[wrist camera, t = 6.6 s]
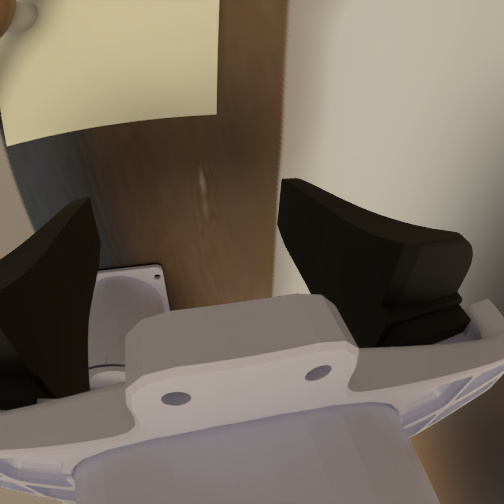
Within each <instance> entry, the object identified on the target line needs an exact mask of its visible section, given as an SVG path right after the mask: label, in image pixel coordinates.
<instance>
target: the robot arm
mask: <svg viewBox="0 0 504 504" xmlns="http://www.w3.org/2000/svg"><path fill="white" fill-rule="evenodd" d="M277 225H278V228H279V231H280V233H281V237H282V239H283V242H284V244H285V246H286V248H287V250H288V252H289V254H290V256H291V257H292V259H293V261H294V263H295V265H296V267H297V268H298V270H299V272H300V274H301V276H302V278H303V280H304V281H305V283H306V285H307V287H308V289H309V291H310V293H311V294H290V295H284V296H277V297H271V298H264V299H257V300H250V301H243V302H236V303H229V304H221V305H214V306H206V307H198V308H190V309H182V310H174V311H170V307H169V302H168V297H167V291H166V286H165V280H164V274H163V269H162V267H161V266H160V265H156V264H155V265H146V266H138V267H129V268H120V269H111V270H102V271H98V268H99V261H100V248H101V242H100V238H99V234H98V231H97V226H96V222H95V218H94V214H93V210H92V205H91V201H90V198H83V199H77V200H74V201H72V202H71V203H69V204H68V205H67V206H65V207H64V208H63V209H62V210H61V211H60V212H58V213H57V214H56V215H55V216H54V217H53V218H52V219H51V220H49V221H48V222H47V223H46V224H45V225H44V226H43V227H41V228H40V229H39V230H38V231H37V232H36V233H34V234H33V235H32V236H31V237H30V238H29V239H27V240H26V241H25V242H24V243H23V244H21V245H20V246H19V247H17V248H16V249H15V250H13V251H12V252H10V253H9V254H8V255H6V256H5V257H3V258H2V259H0V487H3V488H7V489H11V490H15V491H19V492H23V493H27V494H32V495H36V496H41V497H46V498H52V499H57V500H60V501H61V502H63V503H64V504H440V503H439V500H438V498H437V496H436V494H435V492H434V490H433V487H432V485H431V483H430V481H429V479H428V477H427V475H426V473H425V471H424V468H423V466H422V464H421V462H420V460H419V458H418V456H417V454H416V452H415V450H414V448H413V446H412V444H411V442H410V440H409V438H410V437H412V436H414V435H416V434H417V433H419V432H421V431H423V430H424V429H426V428H428V427H430V426H431V425H433V424H435V423H436V422H438V421H439V420H441V419H443V418H444V417H446V416H448V415H449V414H451V413H452V412H454V411H456V410H457V409H459V408H460V407H462V406H463V405H465V404H467V403H468V402H470V401H471V400H473V399H474V398H476V397H477V396H479V395H480V394H482V393H483V392H485V391H486V390H488V389H489V388H490V387H491V386H492V385H493V384H494V383H495V382H496V381H497V380H498V379H499V378H500V377H501V376H502V375H503V373H504V317H503V316H502V315H501V314H500V312H499V311H498V310H497V309H496V307H495V306H494V305H493V304H492V303H491V302H490V300H489V299H485V300H483V301H480V302H477V303H475V304H472V305H470V306H469V307H467V308H466V309H465V310H463V309H462V308H461V306H460V305H459V304H460V303H461V302H462V297H461V296H460V295H459V294H458V293H457V291H458V289H459V287H460V286H461V284H462V282H463V280H464V278H465V276H466V274H467V272H468V270H469V267H470V265H471V261H472V256H473V252H472V246H471V244H470V243H469V242H468V241H467V240H466V239H465V238H464V237H463V236H462V235H461V234H459V233H457V232H451V231H444V230H438V229H432V228H427V227H422V226H417V225H413V224H409V223H405V222H401V221H398V220H395V219H391V218H388V217H385V216H381V215H379V214H376V213H374V212H371V211H368V210H366V209H363V208H361V207H358V206H356V205H354V204H352V203H350V202H347V201H345V200H343V199H341V198H339V197H336V196H335V195H333V194H331V193H329V192H327V191H325V190H323V189H321V188H319V187H317V186H315V185H313V184H310V183H308V182H306V181H304V180H301V179H298V178H294V179H293V178H291V179H282V182H281V192H280V202H279V213H278V223H277ZM155 275H160V276H155Z"/></svg>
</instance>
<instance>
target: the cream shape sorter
mask: <svg viewBox="0 0 504 504" xmlns="http://www.w3.org/2000/svg"><path fill="white" fill-rule="evenodd" d="M218 25H219V0H16V11H15V15H14V18H13V20H12V23H11V25H10V26H9V28H8V30H7V31H6V32H5V34H4V35H3V36H2V37H1V38H0V110H1V117H2V123H3V128H4V134H5V139H6V144H7V146H10V145H14V144H18V143H22V142H26V141H30V140H34V139H38V138H43V137H47V136H51V135H56V134H61V133H66V132H71V131H76V130H82V129H87V128H93V127H99V126H105V125H112V124H119V123H126V122H134V121H142V120H151V119H160V118H171V117H183V116H197V115H215V114H217V59H218Z"/></svg>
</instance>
